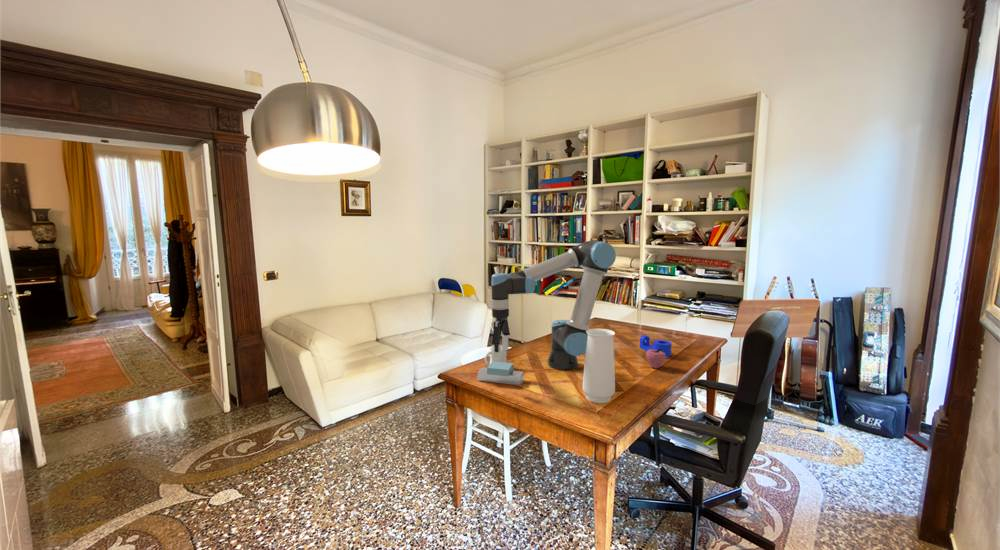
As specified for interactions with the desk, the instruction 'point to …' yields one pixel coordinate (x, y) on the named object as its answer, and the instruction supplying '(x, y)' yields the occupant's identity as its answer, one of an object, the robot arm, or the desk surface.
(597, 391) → the vase
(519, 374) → the grey block with holes
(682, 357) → the desk surface
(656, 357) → the apple
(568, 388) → the desk surface
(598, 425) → the desk surface
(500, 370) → the pale blue memo pad
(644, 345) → the bracket
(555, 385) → the desk surface
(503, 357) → the mug
